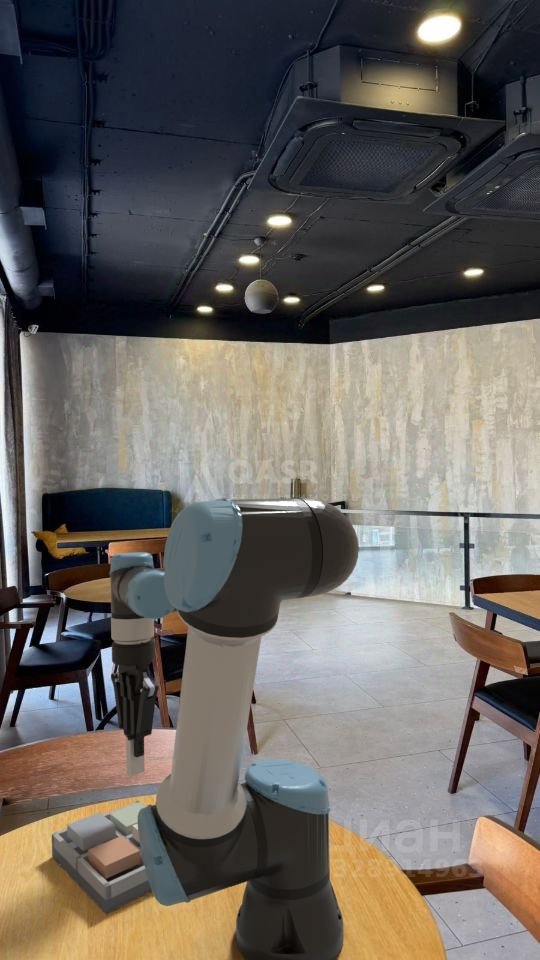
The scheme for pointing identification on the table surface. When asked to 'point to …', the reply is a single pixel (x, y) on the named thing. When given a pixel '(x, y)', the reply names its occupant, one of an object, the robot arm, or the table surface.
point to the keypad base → (98, 888)
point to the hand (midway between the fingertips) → (135, 772)
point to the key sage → (126, 818)
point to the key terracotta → (113, 856)
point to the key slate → (91, 831)
